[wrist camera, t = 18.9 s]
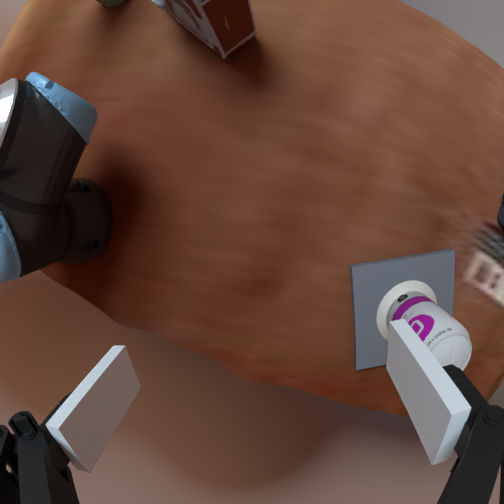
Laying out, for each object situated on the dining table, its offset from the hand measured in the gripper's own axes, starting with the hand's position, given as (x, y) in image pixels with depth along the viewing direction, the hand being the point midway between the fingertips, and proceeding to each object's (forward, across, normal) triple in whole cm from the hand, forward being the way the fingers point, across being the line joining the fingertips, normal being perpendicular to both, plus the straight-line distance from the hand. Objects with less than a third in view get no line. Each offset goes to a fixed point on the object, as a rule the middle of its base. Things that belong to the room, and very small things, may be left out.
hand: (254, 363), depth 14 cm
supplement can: (+29, +21, -15) cm, 39 cm away
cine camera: (+34, -5, +37) cm, 51 cm away
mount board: (+31, +21, -15) cm, 40 cm away
